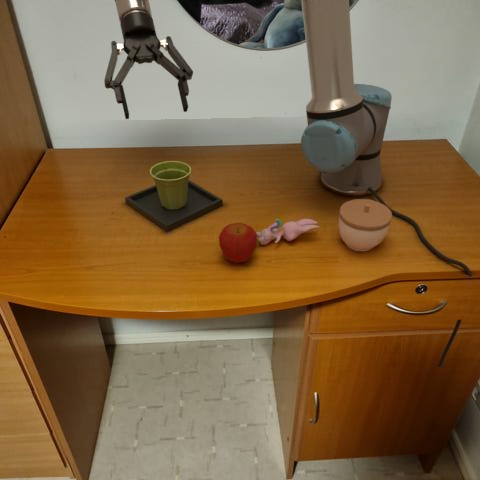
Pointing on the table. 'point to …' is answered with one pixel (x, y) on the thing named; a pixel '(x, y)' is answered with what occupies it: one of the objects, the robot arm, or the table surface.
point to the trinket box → (363, 223)
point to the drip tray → (171, 219)
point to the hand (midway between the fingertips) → (157, 113)
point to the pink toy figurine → (285, 230)
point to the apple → (238, 242)
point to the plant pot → (171, 183)
